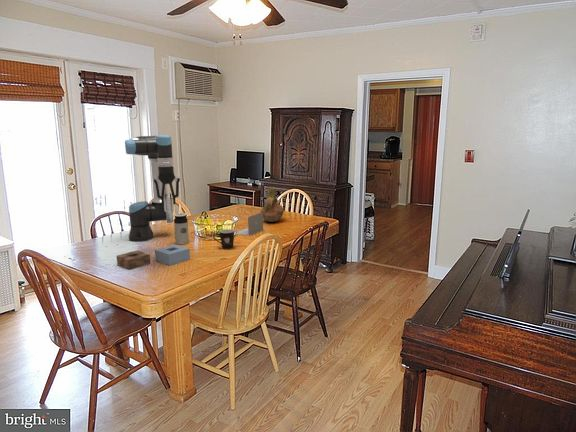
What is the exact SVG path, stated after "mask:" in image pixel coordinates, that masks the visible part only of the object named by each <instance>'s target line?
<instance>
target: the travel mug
mask: <svg viewBox="0 0 576 432" xmlns="http://www.w3.org/2000/svg"><path fill="white" fill-rule="evenodd" d="M187 214H188V213H184V212H183V213H182V212H181V213H179V212H178V213H175V214H173V217H174V218H173V224H174V236H175V237H174V239H175V244H176V245H179V246H183V245H187V244H189V243H190V238H189V236H190V235H189V221H188V217H187Z"/></svg>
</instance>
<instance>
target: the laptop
mask: <svg viewBox="0 0 576 432" xmlns="http://www.w3.org/2000/svg"><path fill="white" fill-rule="evenodd" d="M260 212H261V211H260ZM260 212H259V213H255V214H253V215H250V216H248V217H247V227H246V228H244V229H241V230H239V231H236V232H237V233H236V234H235V235H238V236H246V237H249V236H251V235H254V234H257V233H259V232H261V231H263V230H264V219H263V212H261V213H260Z"/></svg>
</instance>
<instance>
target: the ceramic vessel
mask: <svg viewBox="0 0 576 432" xmlns="http://www.w3.org/2000/svg"><path fill="white" fill-rule="evenodd" d="M266 191H267V192H266V195H267V198H266V199H265V202H264V206H263V207H262V208H261V209H260V211H259V213H261V212H263V221H265V222H268V223H276V222H278V221H280V219H282V217H283V215H284V214H283V213H284V212H285V211H284V206H282V204H279V203H278V201H279V199H278V197H277V188H275V187H273V188H267V190H266Z"/></svg>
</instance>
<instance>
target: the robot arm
mask: <svg viewBox="0 0 576 432" xmlns="http://www.w3.org/2000/svg"><path fill="white" fill-rule="evenodd" d="M124 148H125V154H126V155H135V156H147V159H148V161H149V160H150V169H151V180H152V193H153V198H152V199H151V203H149V202H148V201H147V200H145V201H144V200H143V201H137V202H133V203H131V204H130V205H129V206H128V211H129V212H128V214H129V223H130V224H129V225H130V229H129V234H128V240H129V241H131V242H145V241H149V240H153V238H154V237H155V236H154V232H153V230H152V227H151V225H150V224H151V222H160V221H167V217H166V201H165V194H167V193H168V185H169V188H170V191H171V193H170V194H171V200H172V212H173V213H174V211H175V208H174V205H176V199H177V198H178V197H179V193H180V192H179V189H180V188H179V187H180V184H179V183H180V181H181V179H180V177H176V176H175V170H174V169H175V168H174V166H173V165H174V158H173V140H172V136H171V135H169V134H168V135H166V134H165V135H144V136H143V135H138V136H134V137H131V138H130V139H125V141H124ZM173 181H175V190H174V187H173Z"/></svg>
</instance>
